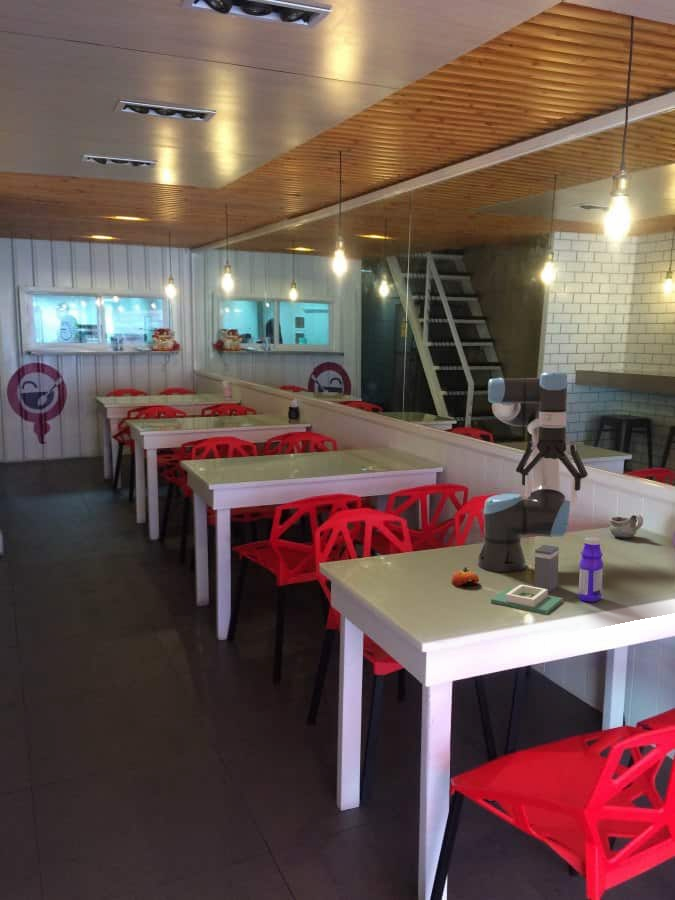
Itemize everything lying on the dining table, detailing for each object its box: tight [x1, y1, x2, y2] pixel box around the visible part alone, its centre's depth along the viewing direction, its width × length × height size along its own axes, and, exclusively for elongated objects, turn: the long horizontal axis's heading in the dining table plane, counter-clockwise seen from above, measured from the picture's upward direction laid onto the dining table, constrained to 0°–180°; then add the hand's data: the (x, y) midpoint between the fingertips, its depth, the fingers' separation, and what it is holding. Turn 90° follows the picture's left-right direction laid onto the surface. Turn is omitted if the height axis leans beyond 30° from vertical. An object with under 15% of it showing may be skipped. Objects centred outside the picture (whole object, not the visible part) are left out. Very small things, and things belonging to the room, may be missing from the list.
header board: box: [490, 584, 563, 615], centre depth 202 cm, size 16×12×3 cm
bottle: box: [578, 536, 604, 603], centre depth 203 cm, size 7×6×17 cm
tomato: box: [451, 566, 480, 588], centre depth 218 cm, size 8×7×7 cm
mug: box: [609, 513, 644, 539], centre depth 270 cm, size 10×12×10 cm
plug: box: [533, 544, 560, 593], centre depth 214 cm, size 5×8×12 cm, turn 144°
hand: (550, 499), depth 211 cm, fingers open, 13 cm apart
